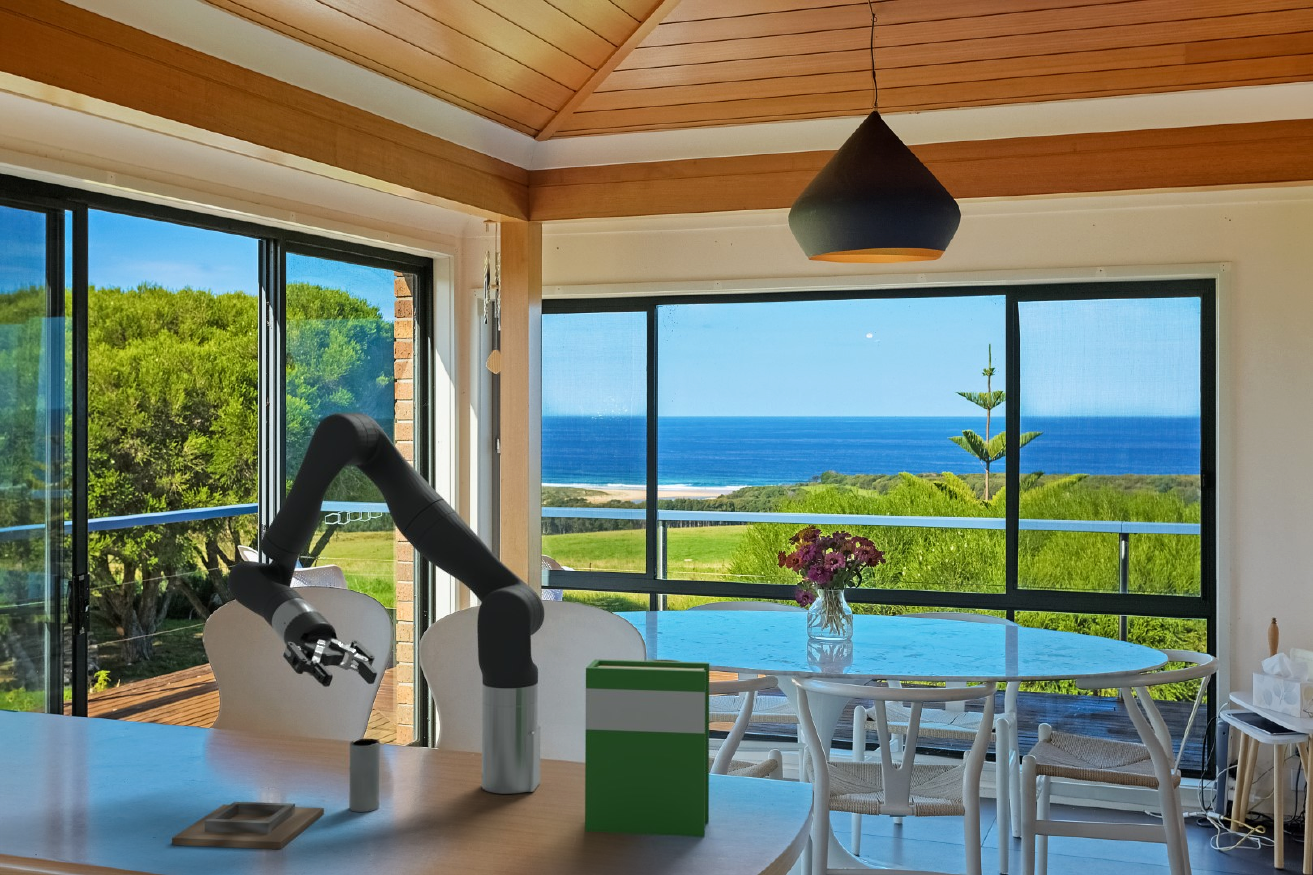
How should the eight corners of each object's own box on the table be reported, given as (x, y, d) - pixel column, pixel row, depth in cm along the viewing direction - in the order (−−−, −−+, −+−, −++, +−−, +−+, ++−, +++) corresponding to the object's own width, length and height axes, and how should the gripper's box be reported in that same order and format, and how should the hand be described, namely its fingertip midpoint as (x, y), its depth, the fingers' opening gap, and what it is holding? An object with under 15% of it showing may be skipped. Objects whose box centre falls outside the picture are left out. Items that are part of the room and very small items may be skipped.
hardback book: (708, 821, 180) (709, 662, 180) (704, 836, 172) (705, 671, 173) (594, 815, 182) (594, 659, 182) (584, 831, 174) (585, 667, 175)
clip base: (323, 814, 182) (323, 798, 182) (280, 848, 166) (281, 831, 166) (223, 810, 183) (223, 794, 183) (171, 844, 167) (171, 827, 167)
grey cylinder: (371, 813, 183) (372, 746, 183) (344, 811, 184) (344, 744, 184) (384, 804, 187) (384, 739, 187) (357, 802, 188) (357, 737, 188)
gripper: (273, 610, 195) (321, 662, 185) (345, 609, 206) (395, 658, 196) (258, 649, 196) (306, 703, 186) (331, 647, 207) (380, 697, 197)
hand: (352, 680), depth 191 cm, fingers open, 8 cm apart
